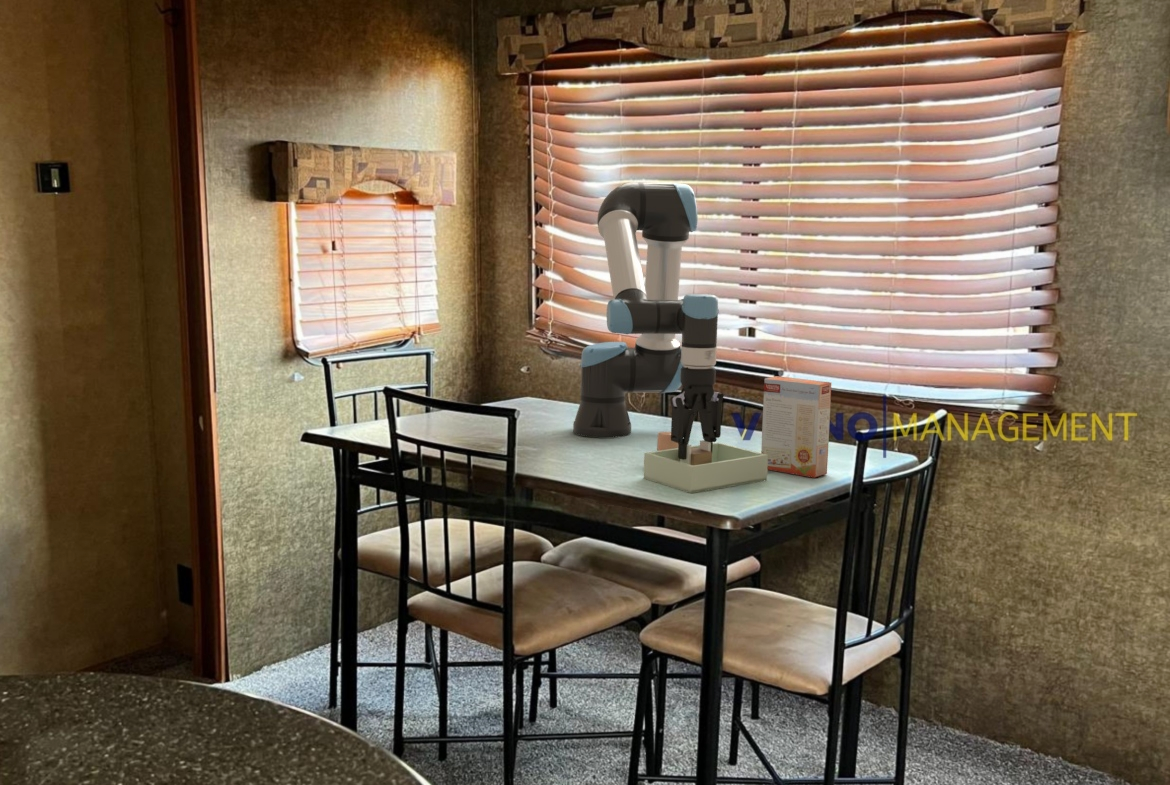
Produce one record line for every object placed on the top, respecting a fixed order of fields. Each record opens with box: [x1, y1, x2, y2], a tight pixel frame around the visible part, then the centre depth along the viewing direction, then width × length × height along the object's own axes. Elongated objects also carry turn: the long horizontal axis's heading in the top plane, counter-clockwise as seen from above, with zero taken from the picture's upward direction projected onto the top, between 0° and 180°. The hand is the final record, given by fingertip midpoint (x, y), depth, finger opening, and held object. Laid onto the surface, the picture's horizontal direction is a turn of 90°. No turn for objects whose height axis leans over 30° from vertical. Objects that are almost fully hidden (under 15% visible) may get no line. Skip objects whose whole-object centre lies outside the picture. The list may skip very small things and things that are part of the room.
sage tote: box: [643, 441, 768, 494], centre depth 241 cm, size 16×22×6 cm
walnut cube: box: [679, 448, 712, 465], centre depth 244 cm, size 5×5×5 cm
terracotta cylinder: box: [656, 431, 678, 451], centre depth 256 cm, size 5×5×7 cm
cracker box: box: [760, 375, 832, 479], centre depth 249 cm, size 14×6×21 cm, turn 49°
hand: (694, 471), depth 244 cm, fingers closed on walnut cube, 5 cm apart
